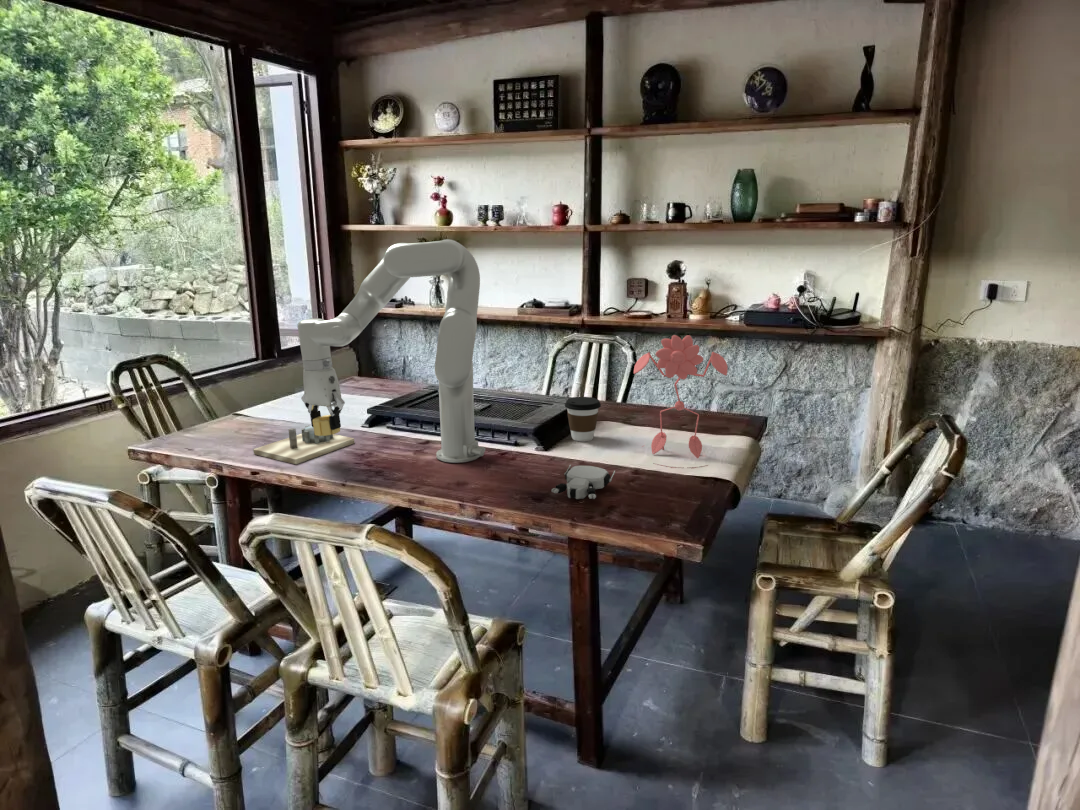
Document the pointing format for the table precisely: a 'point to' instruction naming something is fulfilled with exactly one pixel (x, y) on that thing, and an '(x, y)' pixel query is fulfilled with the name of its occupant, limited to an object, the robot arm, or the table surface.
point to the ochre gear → (323, 426)
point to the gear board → (303, 446)
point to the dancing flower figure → (680, 362)
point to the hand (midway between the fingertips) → (326, 426)
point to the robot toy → (583, 481)
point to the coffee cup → (582, 417)
